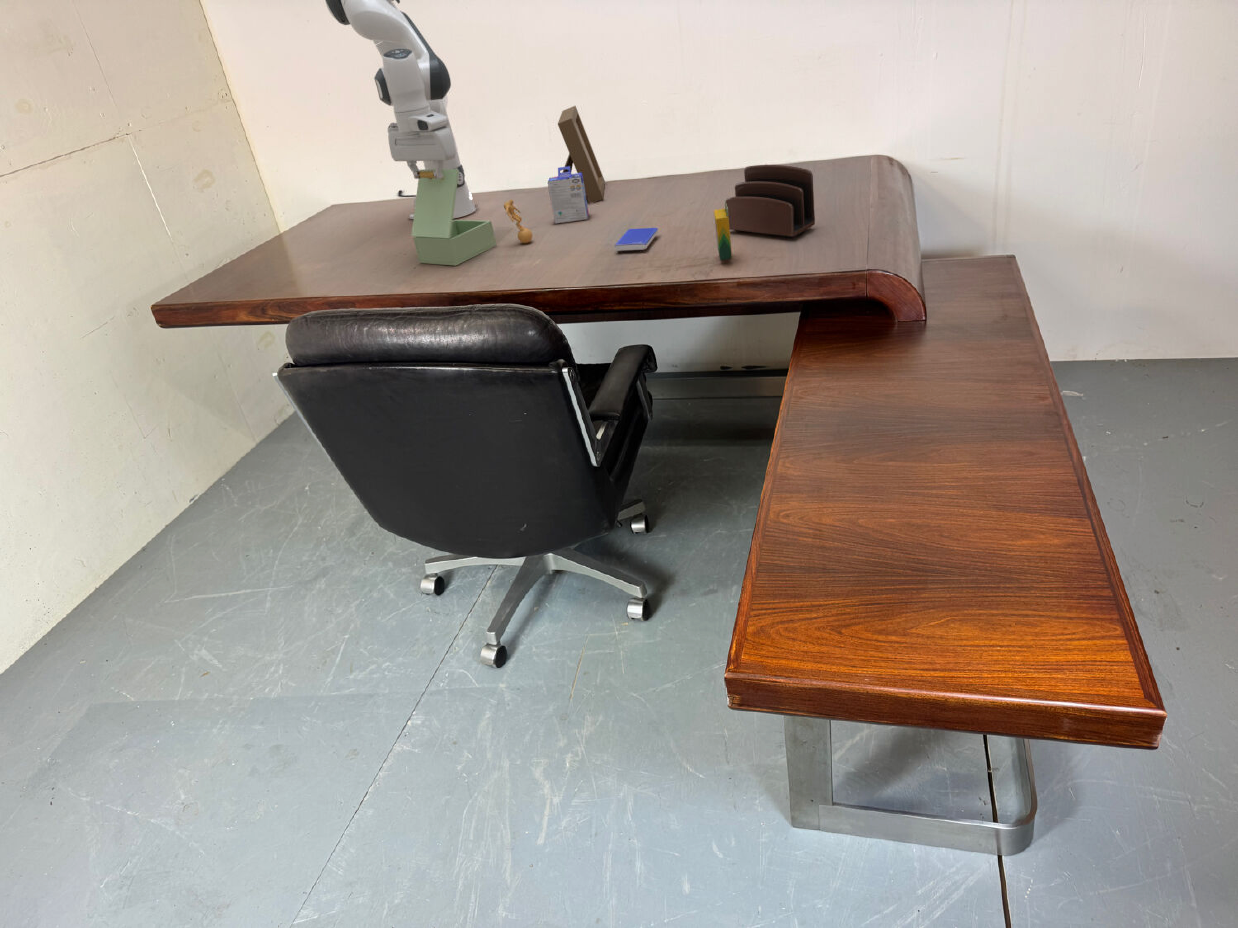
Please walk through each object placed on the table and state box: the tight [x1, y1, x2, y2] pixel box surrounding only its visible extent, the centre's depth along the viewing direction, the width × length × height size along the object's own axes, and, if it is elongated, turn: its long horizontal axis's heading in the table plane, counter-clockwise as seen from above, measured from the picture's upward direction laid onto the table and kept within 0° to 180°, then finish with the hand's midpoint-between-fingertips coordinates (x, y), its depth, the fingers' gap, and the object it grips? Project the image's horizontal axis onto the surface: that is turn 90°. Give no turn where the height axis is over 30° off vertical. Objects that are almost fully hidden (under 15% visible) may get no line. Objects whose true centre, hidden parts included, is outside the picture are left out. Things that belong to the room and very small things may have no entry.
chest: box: [412, 219, 497, 266], centre depth 228 cm, size 17×14×7 cm
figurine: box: [503, 199, 533, 244], centre depth 226 cm, size 8×6×12 cm
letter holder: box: [724, 164, 816, 238], centre depth 205 cm, size 10×20×14 cm, turn 47°
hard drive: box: [614, 227, 659, 251], centre depth 214 cm, size 2×8×12 cm
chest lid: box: [411, 168, 459, 239], centre depth 218 cm, size 17×14×5 cm
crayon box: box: [713, 200, 733, 261], centre depth 193 cm, size 7×3×12 cm, turn 178°
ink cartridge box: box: [547, 166, 590, 224], centre depth 240 cm, size 10×6×14 cm, turn 89°
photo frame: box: [557, 105, 606, 204], centre depth 260 cm, size 15×22×25 cm
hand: (429, 178), depth 216 cm, fingers open, 6 cm apart
